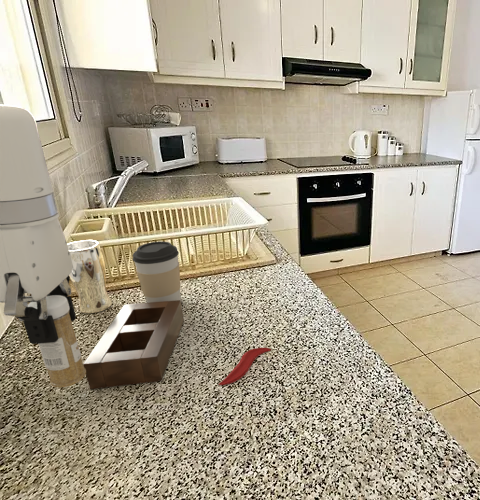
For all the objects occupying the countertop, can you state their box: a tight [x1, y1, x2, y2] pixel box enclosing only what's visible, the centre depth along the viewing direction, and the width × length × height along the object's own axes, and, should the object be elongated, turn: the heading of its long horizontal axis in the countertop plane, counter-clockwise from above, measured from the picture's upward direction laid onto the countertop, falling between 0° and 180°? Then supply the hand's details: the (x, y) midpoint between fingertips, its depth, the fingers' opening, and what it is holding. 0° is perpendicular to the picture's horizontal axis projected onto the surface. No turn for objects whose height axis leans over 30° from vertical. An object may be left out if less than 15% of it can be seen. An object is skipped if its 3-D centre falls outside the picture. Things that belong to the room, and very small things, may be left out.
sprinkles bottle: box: [27, 295, 86, 389], centre depth 55 cm, size 5×5×14 cm
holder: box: [83, 299, 185, 390], centre depth 70 cm, size 11×19×5 cm, turn 12°
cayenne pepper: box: [218, 347, 272, 386], centre depth 67 cm, size 12×5×2 cm, turn 140°
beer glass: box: [67, 239, 113, 315], centre depth 82 cm, size 7×7×15 cm
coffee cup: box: [132, 240, 182, 303], centre depth 83 cm, size 9×9×15 cm
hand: (54, 329), depth 54 cm, fingers closed on sprinkles bottle, 4 cm apart
